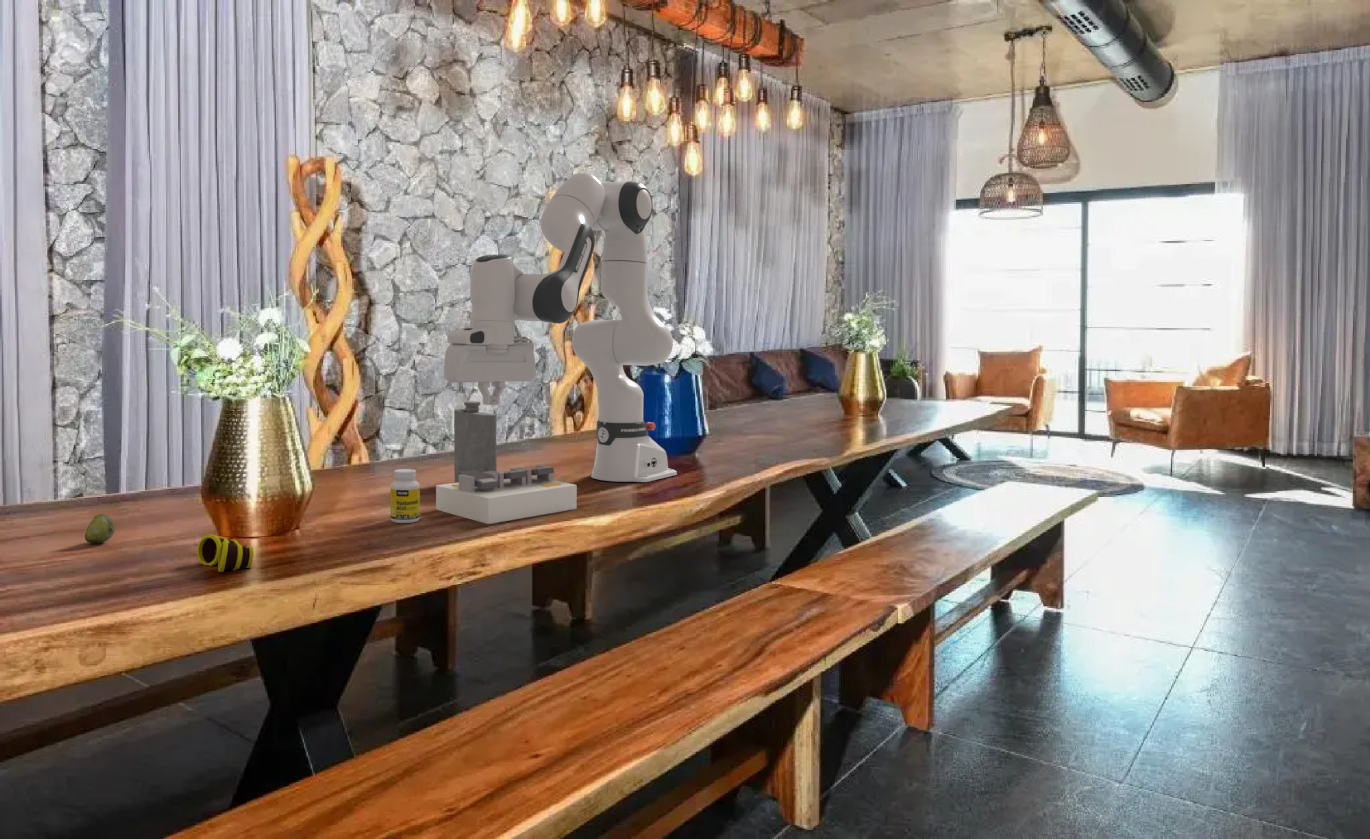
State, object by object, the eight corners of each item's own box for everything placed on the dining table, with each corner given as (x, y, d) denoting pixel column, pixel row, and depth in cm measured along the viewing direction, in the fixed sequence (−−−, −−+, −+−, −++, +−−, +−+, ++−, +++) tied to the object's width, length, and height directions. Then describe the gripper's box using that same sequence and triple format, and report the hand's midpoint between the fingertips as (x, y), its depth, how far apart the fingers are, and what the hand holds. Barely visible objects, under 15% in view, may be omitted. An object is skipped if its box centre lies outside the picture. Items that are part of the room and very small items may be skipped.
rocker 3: (530, 474, 204) (529, 468, 204) (553, 473, 199) (553, 466, 199) (515, 476, 201) (514, 470, 201) (538, 475, 196) (538, 468, 196)
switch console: (523, 496, 210) (523, 460, 209) (576, 508, 198) (576, 470, 197) (436, 509, 194) (435, 470, 193) (488, 524, 182) (488, 482, 181)
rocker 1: (475, 475, 194) (475, 468, 194) (498, 487, 189) (498, 480, 189) (458, 477, 191) (459, 470, 191) (481, 489, 186) (482, 482, 186)
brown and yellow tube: (254, 575, 147) (259, 543, 147) (219, 575, 143) (225, 542, 143) (228, 564, 153) (233, 533, 154) (193, 563, 149) (199, 531, 150)
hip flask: (499, 491, 215) (499, 403, 213) (483, 493, 212) (483, 404, 210) (464, 481, 227) (463, 398, 224) (448, 483, 224) (448, 398, 222)
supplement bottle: (393, 524, 180) (393, 473, 179) (388, 519, 184) (387, 469, 183) (422, 522, 182) (422, 471, 181) (416, 516, 187) (416, 467, 186)
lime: (86, 547, 158) (84, 518, 157) (83, 541, 162) (82, 512, 161) (117, 544, 161) (115, 515, 160) (114, 538, 164) (112, 510, 164)
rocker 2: (503, 478, 199) (503, 471, 199) (527, 476, 194) (526, 469, 194) (487, 480, 196) (487, 473, 196) (511, 478, 191) (510, 471, 191)
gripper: (523, 336, 200) (522, 401, 202) (439, 334, 185) (439, 404, 186) (542, 337, 196) (541, 404, 197) (458, 334, 181) (457, 407, 182)
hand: (491, 404), depth 192 cm, fingers closed
